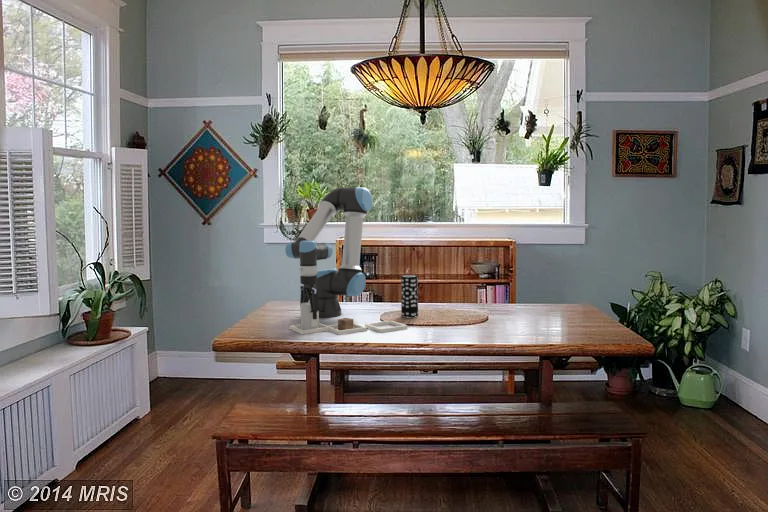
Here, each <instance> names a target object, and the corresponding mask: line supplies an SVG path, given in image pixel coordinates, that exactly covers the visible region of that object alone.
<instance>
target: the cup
mask: <svg viewBox="0 0 768 512" xmlns="http://www.w3.org/2000/svg"><path fill="white" fill-rule="evenodd" d="M299 306H300V324H301V328H300V329H302V330H309V329H316V328H320V327H319V323H320V317H319V311H318V312H317V326H314V327H311V312H310V311H311V305H310V301H309V302H305V303H301V304H300V303H299Z"/></svg>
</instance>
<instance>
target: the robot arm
mask: <svg viewBox="0 0 768 512" xmlns="http://www.w3.org/2000/svg"><path fill="white" fill-rule="evenodd" d="M372 207H373V197H372V194H371V192H370V190H369V189H368V188H366V187H364V186H361V187H360V186H354V187H353V186H352V187H348V186H347V187H346V186H345V187H344V186H343V187H337V188H334V189H333V190H331V191H329V192H328V193H327V194H326V195H324V197H323V198H322V199H321V201H320V202H319V203H318V208H317V210H316V211H315V212H314V214H313V215H312V217H311V219H310V220H309V221H308V223H307V224H306V226H305V227H304V228H303V230H302V231H301V233H300V234H299V235H298V236H297V238H296V240H294V241H291V242H288V243H286V246H285V250H284V251H285V255H286V256H287V257H288V258H289V259H296V260H297V259H298V260H299V271H300V273H299V274H300V280H299V282H300V284H301V285H300V287H299V288H300V301H299V302H300V303H299V305H300V304H301V303H305V302H310V305H311V311H310V312H311V327H314V326H317V312H318V311H319V318H333V317H339V316H341V315H342V314H343V313H342V308H341V305H340V302H339V296H345V297H358V296H360V295H362V293H363V292H364V290H365V289H366V284H367V282H366V281H367V280H366V276H365V274H364V273H363V272H362V271H363V269H362V268H361V266H360V260H361V248H362V236H363V225H364V219H365V217H366V216H367V212H370V211H371V209H372ZM340 211H342V212H343V215H344V217H345V224H344V237H343V238H344V239H343V248H342V260H341V265H340V266H339V267H338V268H335V267H334V268H327V269H319V270H318V262H317V261H321V260H326V259H329V258H330V257H332V255H333V247H332V245H331V243H328V242H321V243H320V242H318V243H317V241H316V239H317V238H318V237H319V235H320V234H321V233H322V231H323V229H324V228H325V226H326V225H327V224H328V222H329V220H330V219H331V218H332V217H334V216H335V215H336V214H337V212H340Z"/></svg>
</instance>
